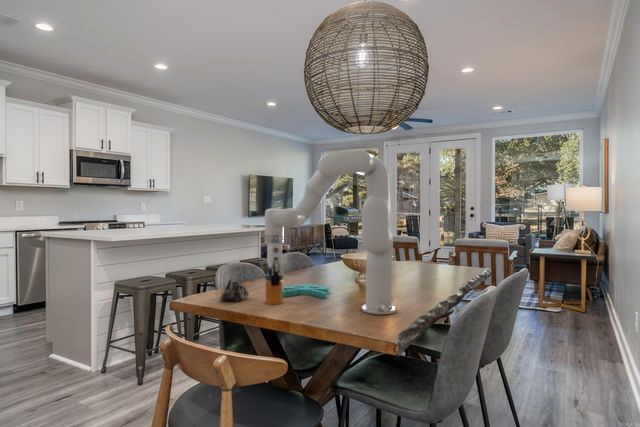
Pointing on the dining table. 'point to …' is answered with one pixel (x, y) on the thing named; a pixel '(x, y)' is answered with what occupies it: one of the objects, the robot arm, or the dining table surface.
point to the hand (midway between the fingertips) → (273, 283)
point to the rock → (234, 291)
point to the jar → (273, 293)
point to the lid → (268, 277)
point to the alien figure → (306, 290)
